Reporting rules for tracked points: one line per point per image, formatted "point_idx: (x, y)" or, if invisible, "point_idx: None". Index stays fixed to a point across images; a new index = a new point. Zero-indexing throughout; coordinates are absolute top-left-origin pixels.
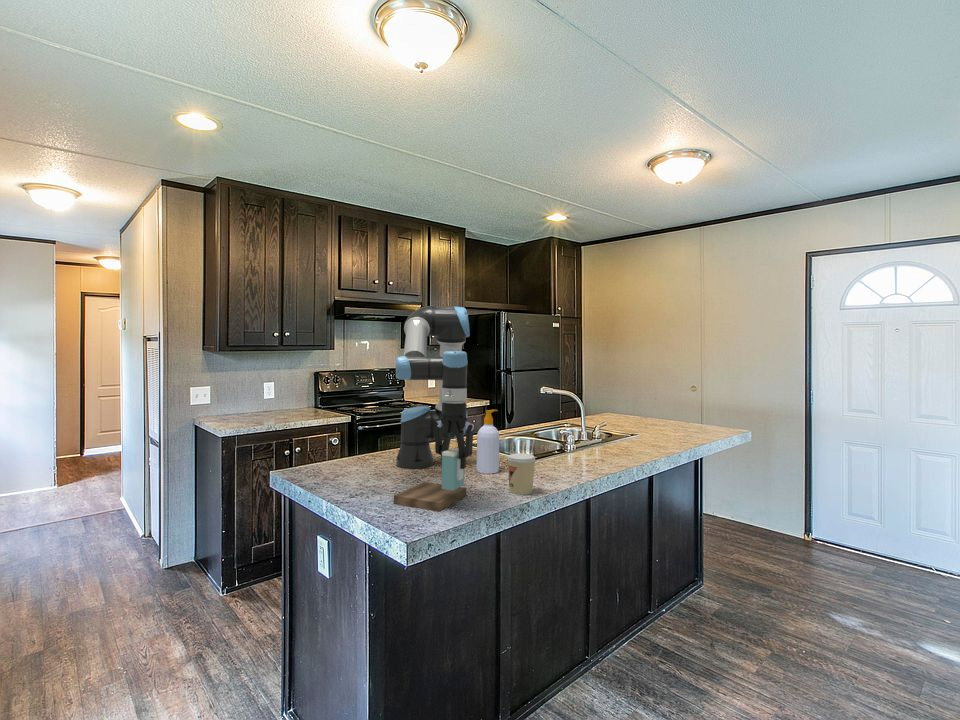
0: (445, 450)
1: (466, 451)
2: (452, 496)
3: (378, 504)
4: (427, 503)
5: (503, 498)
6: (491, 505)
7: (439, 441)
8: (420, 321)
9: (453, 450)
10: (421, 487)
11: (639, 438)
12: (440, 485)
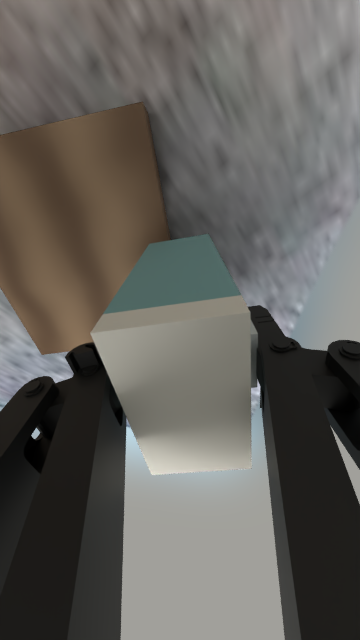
0: (122, 433)
1: (353, 435)
2: None
3: (36, 361)
4: None
5: (326, 4)
6: (302, 170)
7: (17, 532)
8: None
9: (177, 406)
10: (5, 241)
11: None
12: (21, 157)
